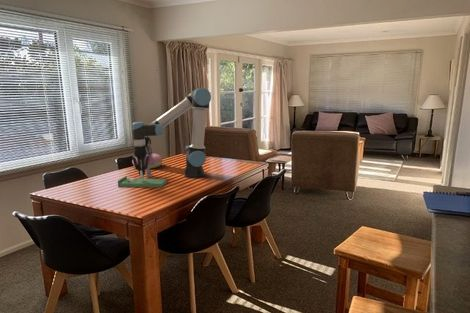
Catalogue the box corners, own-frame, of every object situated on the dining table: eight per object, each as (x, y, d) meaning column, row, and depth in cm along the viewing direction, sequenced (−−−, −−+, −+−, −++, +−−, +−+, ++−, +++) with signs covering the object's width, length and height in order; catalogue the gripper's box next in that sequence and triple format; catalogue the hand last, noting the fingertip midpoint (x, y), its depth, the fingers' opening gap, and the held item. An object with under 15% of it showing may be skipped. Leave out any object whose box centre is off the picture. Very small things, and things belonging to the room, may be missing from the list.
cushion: (165, 163, 291) (164, 152, 289) (160, 170, 266) (159, 157, 264) (136, 163, 290) (136, 152, 288) (128, 170, 265) (127, 158, 263)
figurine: (147, 180, 234) (145, 139, 228) (134, 180, 236) (131, 138, 230) (160, 173, 255) (158, 134, 249) (148, 172, 257) (146, 134, 251)
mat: (167, 182, 229) (166, 176, 228) (161, 187, 217) (161, 181, 217) (125, 181, 232) (125, 176, 231) (118, 186, 220) (117, 180, 219)
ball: (137, 179, 227) (131, 177, 227) (135, 178, 223) (130, 177, 224) (135, 185, 227) (129, 183, 227) (133, 184, 223) (128, 182, 223)
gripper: (151, 144, 222) (153, 178, 227) (132, 144, 224) (135, 177, 229) (147, 146, 215) (149, 181, 220) (128, 146, 216) (131, 180, 221)
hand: (142, 179), depth 224 cm, fingers closed
